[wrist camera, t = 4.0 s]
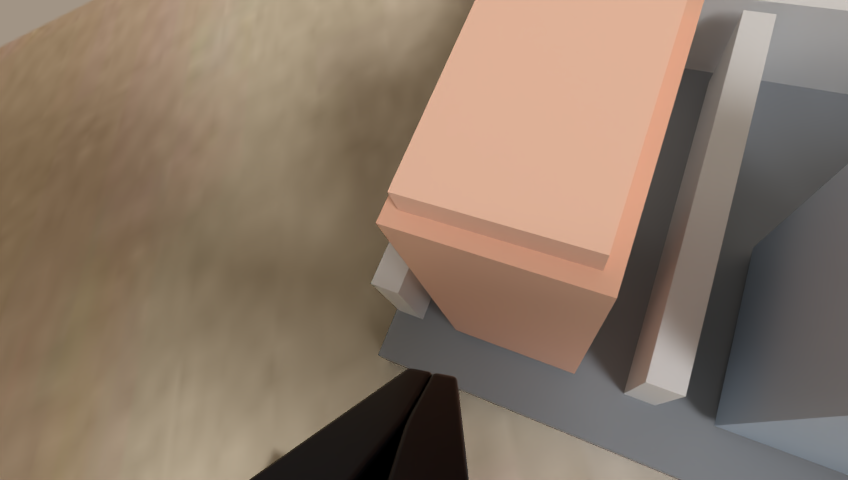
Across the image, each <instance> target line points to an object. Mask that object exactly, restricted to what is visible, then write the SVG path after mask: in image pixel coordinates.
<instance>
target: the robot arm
mask: <svg viewBox="0 0 848 480" xmlns="http://www.w3.org/2000/svg"><path fill="white" fill-rule="evenodd" d="M250 480H469V478H468V469H467V461H466V452H465V443H464V434H463V426H462V417H461V408H460V400H459V391H458V382H457V379H456V377H454V376H450V375H444V374H439V373H435V374H433V375H432V374H431V373H430V372H429V371H424V370H418V369H413V368H410V369H407V370H405V371H404V372H402V373H401V374H400V375H398V376H397V377H395V378H394V379H392V380H391V381H390V382H388V383H387V384H385V385H384V386H382V387H381V388H380V389H378V390H377V391H375V392H374V393H372V394H371V395H370V396H368V397H367V398H365V399H364V400H362V401H361V402H360V403H358V404H357V405H355V406H354V407H352V408H351V409H350V410H348V411H347V412H345V413H344V414H342V415H341V416H340V417H338V418H337V419H335V420H334V421H332V422H331V423H330V424H328V425H327V426H325V427H324V428H322V429H321V430H320V431H318V432H317V433H315V434H314V435H312V436H311V437H310V438H308V439H307V440H305V441H304V442H302V443H301V444H300V445H298V446H297V447H295V448H294V449H292V450H291V451H290V452H288V453H287V454H285V455H284V456H282V457H281V458H280V459H278V460H277V461H275V462H274V463H272V464H271V465H270V466H268V467H267V468H265V469H264V470H262V471H261V472H260V473H258V474H257V475H255V476H254V477H252V478H251V479H250Z"/></svg>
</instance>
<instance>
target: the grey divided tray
mask: <svg viewBox="0 0 848 480" xmlns="http://www.w3.org/2000/svg"><path fill="white" fill-rule="evenodd" d="M847 164H848V0H704V3H703V6H702V10H701V13H700V17H699V20H698V23H697V27H696V30H695V34H694V37H693V40H692V44H691V47H690V51H689V54H688V57H687V61H686V64H685V68H684V71H683V75H682V78H681V81H680V85H679V88H678V92H677V95H676V98H675V102H674V105H673V109H672V112H671V116H670V119H669V122H668V126H667V129H666V133H665V136H664V139H663V143H662V146H661V150H660V153H659V156H658V160H657V163H656V167H655V170H654V174H653V177H652V180H651V184H650V187H649V191H648V194H647V197H646V201H645V204H644V208H643V211H642V215H641V218H640V221H639V225H638V228H637V232H636V235H635V238H634V242H633V245H632V249H631V252H630V255H629V259H628V262H627V266H626V269H625V273H624V276H623V279H622V283H621V286H620V290H619V293H618V296H617V299H616V301H615V303H614V305H613V306H612V308H611V310H610V312H609V313H608V315H607V317H606V319H605V320H604V322H603V324H602V326H601V328H600V329H599V331H598V333H597V335H596V336H595V338H594V340H593V342H592V344H591V345H590V347H589V349H588V351H587V352H586V354H585V356H584V358H583V359H582V361H581V363H580V365H579V367H578V368H577V370H576V372H575V374H573V373H570V372H568V371H565V370H562V369H560V368H557V367H554V366H551V365H549V364H546V363H543V362H541V361H538V360H535V359H533V358H530V357H527V356H524V355H522V354H519V353H516V352H514V351H511V350H508V349H505V348H503V347H500V346H497V345H495V344H492V343H489V342H487V341H484V340H481V339H478V338H476V337H473V336H470V335H468V334H465V333H462V332H460V331H457V330H455V328H454V327H453V326H452V324H451V323H450V322H449V320H448V319H447V318H446V316H445V315H444V314H443V312H442V311H441V310H440V308H439V307H438V306H437V304H436V303H435V302H434V300H433V299H432V298H431V296H430V295H429V294H428V292H427V291H426V290H425V288H424V287H423V286H422V284H421V283H420V282H419V280H418V279H417V278H416V276H415V275H414V274H413V272H412V271H411V270H410V268H409V267H408V266H407V264H406V263H405V262H404V260H403V259H402V258H401V256H400V255H399V254H398V252H397V251H396V250H395V248H394V247H393V246H392V244H391V243H390V242H389V243H388V246H387V248H386V250H385V252H384V255H383V257H382V259H381V261H380V264H379V266H378V268H377V270H376V273H375V275H374V277H373V279H372V282H371V284H372V285H373V286H374V287H375V288H376V289H377V290H378V291H379V292H380V293H381V294H382V295H383V296H385V297H386V298H387V299H388V300H389V301H390V302H391V303H392V304H393V305H394V306H395V307H396V308H397V311H396V313H395V316H394V318H393V321H392V323H391V325H390V328H389V330H388V332H387V335H386V337H385V340H384V342H383V344H382V347H381V349H380V351H379V354H378V355H379V356H381V357H383V358H385V359H386V360H389V361H391V362H394V363H396V364H398V365H401V366H403V367H406V368H408V369H410V368H413V369H418V370H424V371H429V372H430V373H431V374H432V375H433V374H435V373H439V374H444V375H450V376H454V377H456V379H457V382H458V389H459V390H462V391H464V392H467V393H469V394H472V395H474V396H476V397H479V398H481V399H484V400H486V401H489V402H491V403H493V404H496V405H498V406H501V407H503V408H506V409H508V410H510V411H513V412H515V413H518V414H520V415H523V416H525V417H528V418H530V419H532V420H535V421H537V422H540V423H542V424H545V425H547V426H549V427H552V428H554V429H557V430H559V431H562V432H564V433H566V434H569V435H571V436H574V437H576V438H579V439H581V440H584V441H586V442H588V443H591V444H593V445H596V446H598V447H601V448H603V449H605V450H608V451H610V452H613V453H615V454H618V455H620V456H622V457H625V458H627V459H630V460H632V461H635V462H637V463H640V464H642V465H644V466H647V467H649V468H652V469H654V470H657V471H659V472H661V473H664V474H666V475H669V476H671V477H674V478H676V479H678V480H848V475H846V474H843V473H841V472H838V471H835V470H832V469H830V468H827V467H824V466H822V465H819V464H816V463H814V462H811V461H808V460H805V459H803V458H800V457H797V456H795V455H792V454H789V453H787V452H784V451H781V450H778V449H776V448H773V447H770V446H768V445H765V444H762V443H760V442H757V441H754V440H751V439H749V438H746V437H743V436H741V435H738V434H735V433H732V432H730V431H727V430H724V429H722V428H719V427H716V426H714V425H715V420H716V415H717V411H718V406H719V402H720V397H721V393H722V388H723V383H724V379H725V374H726V370H727V365H728V361H729V356H730V351H731V347H732V342H733V338H734V333H735V329H736V324H737V319H738V315H739V310H740V306H741V301H742V297H743V292H744V287H745V283H746V278H747V274H748V269H749V265H750V260H751V255H752V251H753V247H755V246H756V245H757V244H758V243H759V242H760V241H761V240H762V239H764V238H765V237H766V236H767V235H768V234H769V233H770V232H772V231H773V230H774V229H775V228H776V227H777V226H778V225H779V224H781V223H782V222H783V221H784V220H785V219H786V218H787V217H788V216H790V215H791V214H792V213H793V212H794V211H795V210H796V209H797V208H799V207H800V206H801V205H802V204H803V203H804V202H805V201H806V200H808V199H809V198H810V197H811V196H812V195H813V194H814V193H815V192H817V191H818V190H819V189H820V188H821V187H822V186H823V185H824V184H826V183H827V182H828V181H829V180H830V179H831V178H832V177H833V176H835V175H836V174H837V173H838V172H839V171H840V170H841V169H842V168H844V167H845V166H846V165H847Z"/></svg>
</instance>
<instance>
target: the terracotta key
mask: <svg viewBox="0 0 848 480" xmlns="http://www.w3.org/2000/svg"><path fill="white" fill-rule="evenodd" d="M703 3H704V0H475V1H474V4H473V6H472V8H471V10H470V12H469V15H468V17H467V19H466V21H465V23H464V25H463V28H462V30H461V32H460V34H459V36H458V39H457V41H456V43H455V45H454V47H453V49H452V52H451V54H450V56H449V58H448V60H447V63H446V65H445V67H444V69H443V71H442V73H441V76H440V78H439V80H438V82H437V84H436V87H435V89H434V91H433V93H432V95H431V97H430V100H429V102H428V104H427V106H426V108H425V111H424V113H423V115H422V117H421V119H420V121H419V124H418V126H417V128H416V130H415V132H414V134H413V137H412V139H411V141H410V143H409V145H408V148H407V150H406V152H405V154H404V156H403V158H402V161H401V163H400V165H399V167H398V169H397V172H396V174H395V176H394V178H393V180H392V182H391V185H390V187H389V189H388V191H387V192H388V194H389V195H388V197H387V199H386V201H385V204H384V206H383V208H382V210H381V212H380V215H379V217H378V219H377V221H376V224H377V226H378V227H379V228H380V230H381V231H382V232H383V234H384V235H385V236H386V238H387V239H388V240H389V242H390V243H391V244H392V246H393V247H394V248H395V250H396V251H397V252H398V254H399V255H400V256H401V258H402V259H403V260H404V262H405V263H406V264H407V266H408V267H409V268H410V270H411V271H412V272H413V274H414V275H415V276H416V278H417V279H418V280H419V282H420V283H421V284H422V286H423V287H424V288H425V290H426V291H427V292H428V294H429V295H430V296H431V298H432V299H433V300H434V302H435V303H436V304H437V306H438V307H439V308H440V310H441V311H442V312H443V314H444V315H445V316H446V318H447V319H448V320H449V322H450V323H451V324H452V326H453V327H454V328H455V330H457V331H460V332H462V333H465V334H468V335H470V336H473V337H476V338H478V339H481V340H484V341H487V342H489V343H492V344H495V345H497V346H500V347H503V348H505V349H508V350H511V351H514V352H516V353H519V354H522V355H524V356H527V357H530V358H533V359H535V360H538V361H541V362H543V363H546V364H549V365H551V366H554V367H557V368H560V369H562V370H565V371H568V372H570V373H573V374H575V372H576V370H577V368H578V367H579V365H580V363H581V361H582V359H583V358H584V356H585V354H586V352H587V351H588V349H589V347H590V345H591V344H592V342H593V340H594V338H595V336H596V335H597V333H598V331H599V329H600V328H601V326H602V324H603V322H604V320H605V319H606V317H607V315H608V313H609V312H610V310H611V308H612V306H613V305H614V303H615V301H616V299H617V296H618V293H619V290H620V286H621V283H622V279H623V276H624V273H625V269H626V266H627V262H628V259H629V255H630V252H631V249H632V245H633V242H634V238H635V235H636V232H637V228H638V225H639V221H640V218H641V215H642V211H643V208H644V204H645V201H646V197H647V194H648V191H649V187H650V184H651V180H652V177H653V174H654V170H655V167H656V163H657V160H658V156H659V153H660V150H661V146H662V143H663V139H664V136H665V133H666V129H667V126H668V122H669V119H670V116H671V112H672V109H673V105H674V102H675V98H676V95H677V92H678V88H679V85H680V81H681V78H682V75H683V71H684V68H685V64H686V61H687V57H688V54H689V51H690V47H691V44H692V40H693V37H694V34H695V30H696V27H697V23H698V20H699V17H700V13H701V10H702V6H703Z"/></svg>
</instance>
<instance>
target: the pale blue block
mask: <svg viewBox="0 0 848 480" xmlns="http://www.w3.org/2000/svg"><path fill="white" fill-rule="evenodd" d="M714 426H716V427H719V428H722V429H724V430H727V431H730V432H732V433H735V434H738V435H741V436H743V437H746V438H749V439H751V440H754V441H757V442H760V443H762V444H765V445H768V446H770V447H773V448H776V449H778V450H781V451H784V452H787V453H789V454H792V455H795V456H797V457H800V458H803V459H805V460H808V461H811V462H814V463H816V464H819V465H822V466H824V467H827V468H830V469H832V470H835V471H838V472H841V473H843V474H846V475H848V164H847V165H846V166H845V167H844V168H842V169H841V170H840V171H839V172H838V173H837V174H836V175H835V176H833V177H832V178H831V179H830V180H829V181H828V182H827V183H826V184H824V185H823V186H822V187H821V188H820V189H819V190H818V191H817V192H815V193H814V194H813V195H812V196H811V197H810V198H809V199H808V200H806V201H805V202H804V203H803V204H802V205H801V206H800V207H799V208H797V209H796V210H795V211H794V212H793V213H792V214H791V215H790V216H788V217H787V218H786V219H785V220H784V221H783V222H782V223H781V224H779V225H778V226H777V227H776V228H775V229H774V230H773V231H772V232H770V233H769V234H768V235H767V236H766V237H765V238H764V239H762V240H761V241H760V242H759V243H758V244H757V245H756V246H755V247H753V251H752V255H751V260H750V265H749V269H748V274H747V278H746V283H745V287H744V292H743V297H742V301H741V306H740V310H739V315H738V319H737V324H736V329H735V333H734V338H733V342H732V347H731V351H730V356H729V361H728V365H727V370H726V374H725V379H724V383H723V388H722V393H721V397H720V402H719V406H718V411H717V415H716V420H715V425H714Z"/></svg>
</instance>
